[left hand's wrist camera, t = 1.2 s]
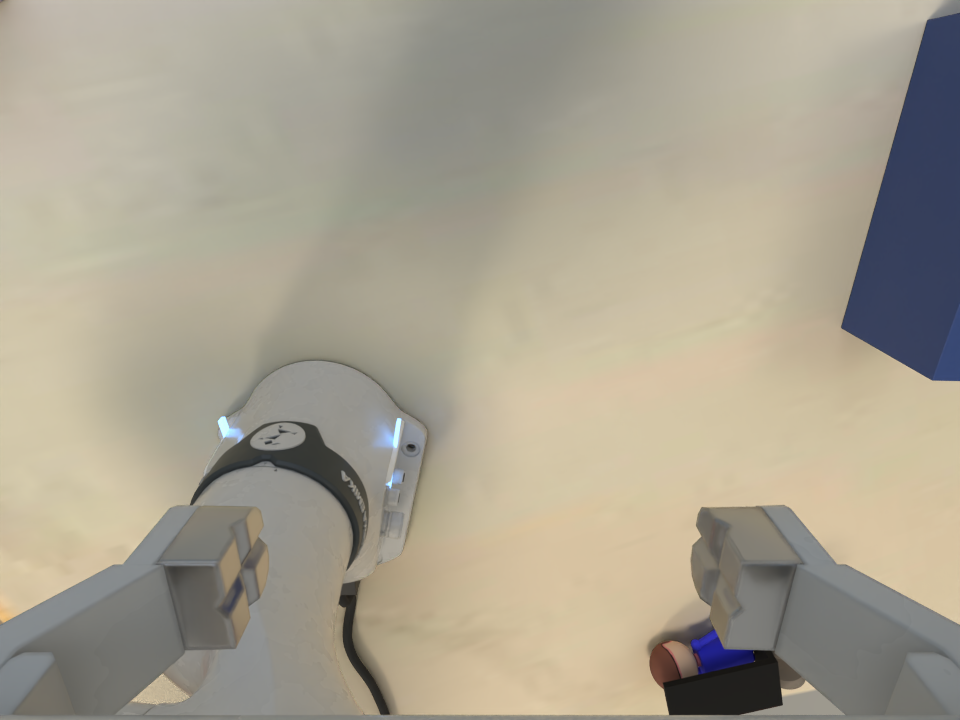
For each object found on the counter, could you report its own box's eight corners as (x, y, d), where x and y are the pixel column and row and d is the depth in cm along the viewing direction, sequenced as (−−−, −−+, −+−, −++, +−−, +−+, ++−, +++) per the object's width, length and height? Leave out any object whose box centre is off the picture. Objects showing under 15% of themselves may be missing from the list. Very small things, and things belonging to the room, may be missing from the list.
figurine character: (770, 591, 62) (637, 632, 62) (816, 649, 55) (666, 695, 55) (775, 635, 64) (647, 674, 64) (820, 696, 57) (676, 740, 57)
